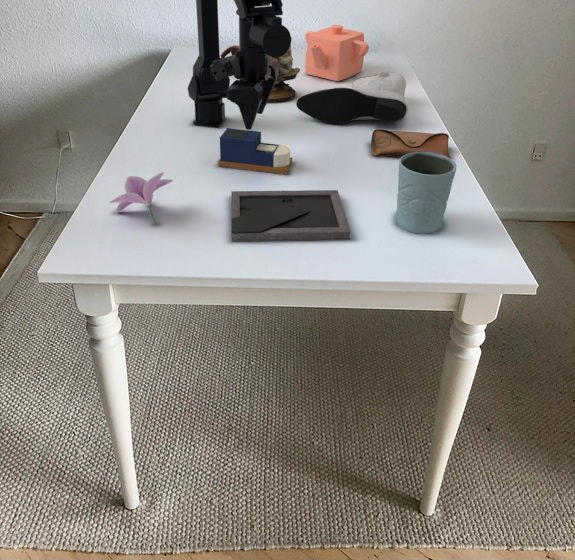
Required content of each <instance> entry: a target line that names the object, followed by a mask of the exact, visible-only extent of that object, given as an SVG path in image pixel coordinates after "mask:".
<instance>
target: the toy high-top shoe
mask: <svg viewBox="0 0 575 560" xmlns="http://www.w3.org/2000/svg"><path fill="white" fill-rule="evenodd" d="M219 155H220V156H219V157H220V158H219V160H218V161H217V164H218V167H219V168H220V167H221V168H229V169H237V170H244V171H245V170H246V171H253V172H262V173H263V172H264V173H272V174H280V175H288V172H289V171H290V168H291V165H292V164H293V157H291V149H290V148H289V147H288V146H287V145H284V144H276V143H269V142H262V131H257V130H247V129H239V128H230V127H227V128H226V129H225V130H224V132H223V133H222V134H221V135H220V136H219Z"/></svg>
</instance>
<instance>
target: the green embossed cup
mask: <svg viewBox="0 0 575 560" xmlns="http://www.w3.org/2000/svg"><path fill="white" fill-rule="evenodd" d="M450 158H451V157H450ZM450 158H448V157H446V156H443V155H440V154H436V153H429V152H414V153H409V154H406V155H404V156H402V157H400V158H399V161H398V175H397V176H398V184H397V198H396V199H397V202H396V212H395V222H396V225H398V226H399V227H400V228H401V229H403V230H405V231H407V232H410V233H414V234H422V235H423V234H425V235H426V234H432V233H436V232H438V231H439V230H440V229H441V227H442V225H443V221H444V216H445V213H446V210H447V205H448V201H449V198H450V194H451V190H452V187H453V182H454V179H455V176H456V171H457V163H456V162H455V161H454V160H453V159H452V158H451V159H450Z"/></svg>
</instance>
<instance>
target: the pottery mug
mask: <svg viewBox="0 0 575 560" xmlns="http://www.w3.org/2000/svg"><path fill="white" fill-rule="evenodd" d="M238 49H239V45H236V44H235V45H231V46H228V47H227V48H226V49H225V50H223V51H222V52H221V54H220V58H225V57H228V56H229V54H230V55H235V53H236V52H237V50H238Z"/></svg>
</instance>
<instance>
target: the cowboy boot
mask: <svg viewBox="0 0 575 560" xmlns="http://www.w3.org/2000/svg"><path fill="white" fill-rule="evenodd" d="M406 88H407V80H406V78H405V76H403V75H402V74H399V73H389V72H381V73H380V74H378V75H377V74H376V75H372V76H367V77H361V78H357V79H356V80H354V81H353V83H352V87H343V86H342V87H332V88H324V89H318V90H314V91H311V92H309V93H306V94H303V95H301V96H300V97H298V99H297V100H296V102H295V105H296V108H297V109H298V110H299V111H301V113H304V114H305V115H307V116H308V117H311V118H313V119H315V120H316V121H319V122H321V123H325V124H328V125H333V126H340V125H345V124H347V123H350V122H352V121H358V120H359V121H363V120H364V121H365V120H366V121H367V120H374V121H375V120H376V121H381V122H391V123H392V122H394V123H395V122H399V121H401V120H403V119H404V118H405V117H406V114H407V113H408V110H409V109H408V102H407V101H406V98H405V92H406Z"/></svg>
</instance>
